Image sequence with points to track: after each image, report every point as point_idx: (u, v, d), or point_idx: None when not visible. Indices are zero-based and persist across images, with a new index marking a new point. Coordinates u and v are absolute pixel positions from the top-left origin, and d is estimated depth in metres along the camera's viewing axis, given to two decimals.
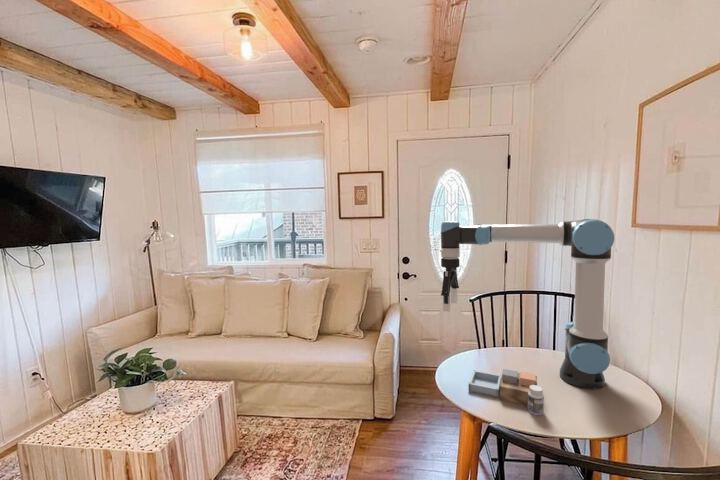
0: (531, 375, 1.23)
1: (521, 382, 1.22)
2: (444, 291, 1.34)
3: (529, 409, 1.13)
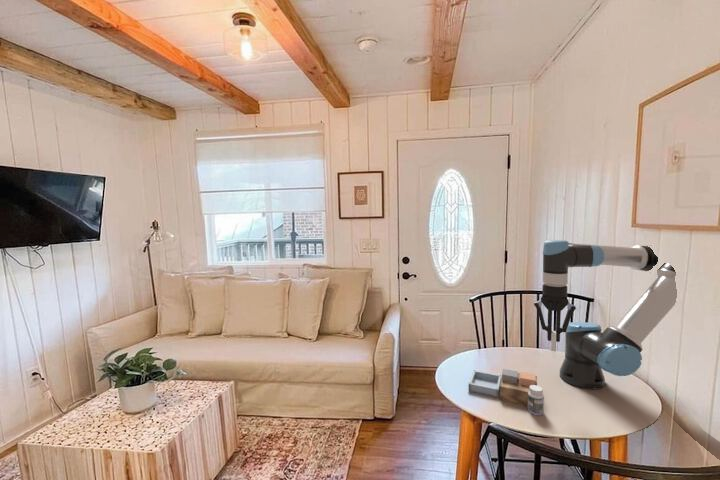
0: (531, 375, 1.23)
1: (521, 382, 1.22)
2: None
3: (529, 409, 1.13)
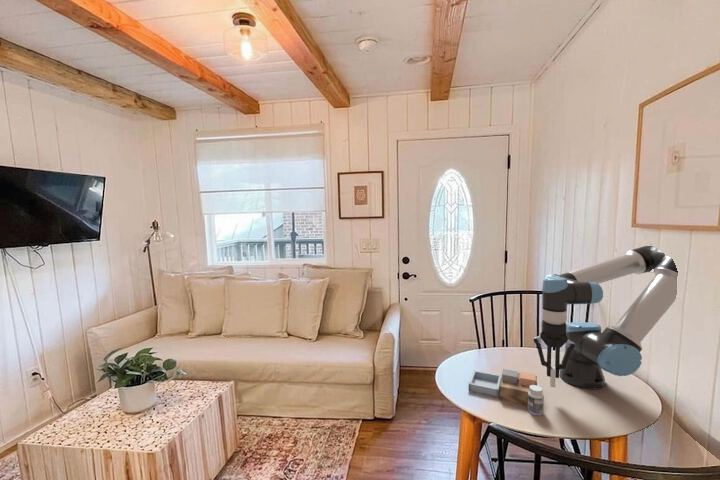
0: (531, 375, 1.23)
1: (521, 382, 1.22)
2: None
3: (529, 409, 1.13)
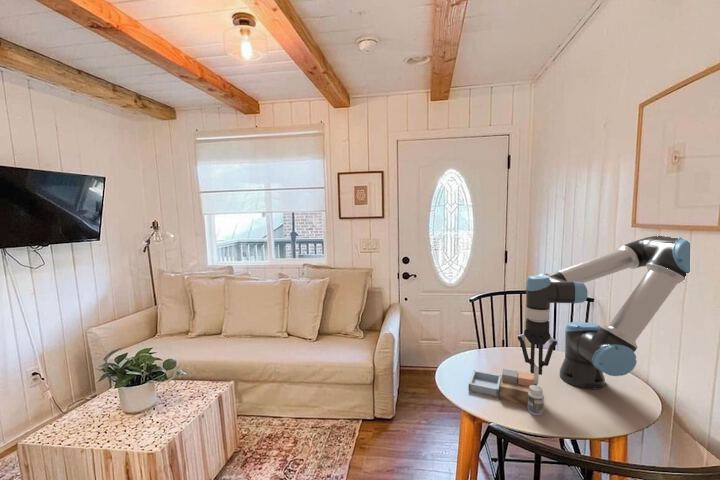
0: (529, 375, 1.23)
1: (519, 382, 1.22)
2: None
3: (529, 409, 1.13)
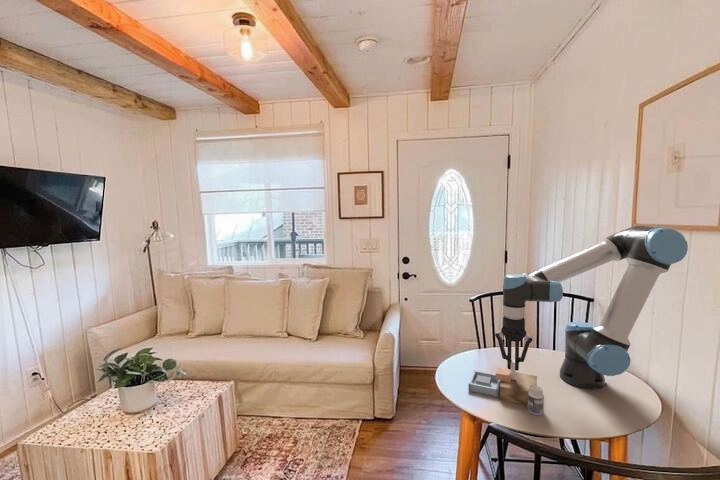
0: (507, 371, 1.27)
1: (497, 377, 1.25)
2: None
3: (529, 409, 1.13)
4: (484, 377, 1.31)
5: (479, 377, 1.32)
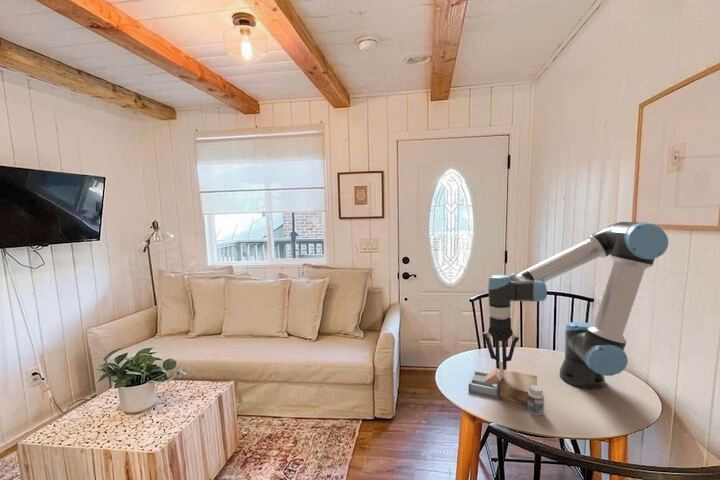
0: (493, 372, 1.29)
1: (488, 384, 1.27)
2: None
3: (529, 409, 1.13)
4: (481, 376, 1.32)
5: (476, 376, 1.32)
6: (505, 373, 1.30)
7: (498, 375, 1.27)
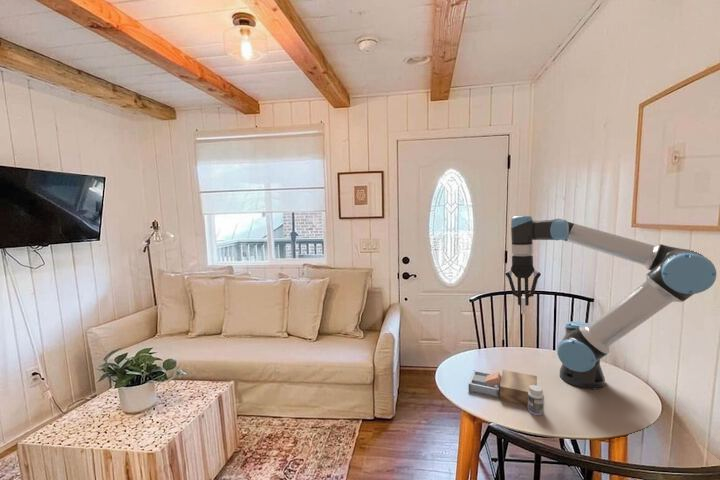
0: (495, 374, 1.29)
1: (488, 385, 1.27)
2: None
3: (529, 409, 1.13)
4: (481, 376, 1.32)
5: (476, 376, 1.32)
6: (505, 373, 1.30)
7: (500, 378, 1.27)
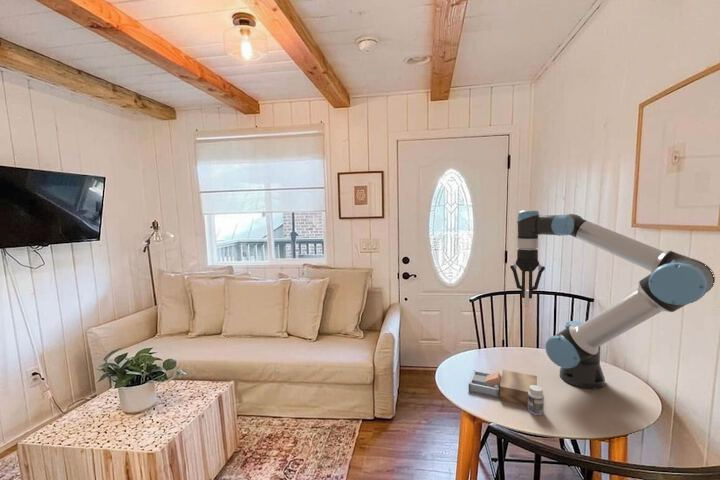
0: (495, 374, 1.29)
1: (488, 385, 1.27)
2: None
3: (529, 409, 1.13)
4: (481, 376, 1.32)
5: (476, 376, 1.32)
6: (505, 373, 1.30)
7: (500, 378, 1.27)
